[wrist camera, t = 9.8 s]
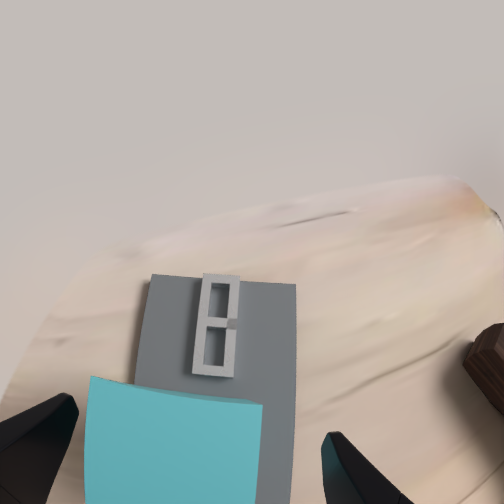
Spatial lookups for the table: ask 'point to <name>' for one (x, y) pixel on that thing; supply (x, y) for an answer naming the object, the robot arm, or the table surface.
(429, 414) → the table surface
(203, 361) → the steel chain
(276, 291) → the rubber mat
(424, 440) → the table surface
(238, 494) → the teal block
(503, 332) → the hammer
